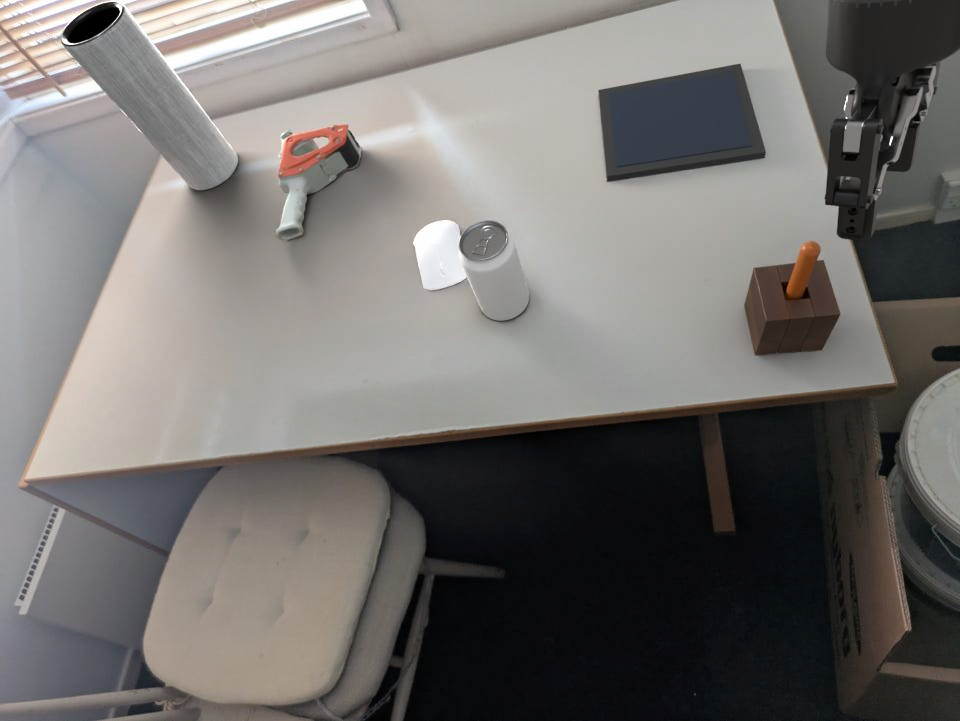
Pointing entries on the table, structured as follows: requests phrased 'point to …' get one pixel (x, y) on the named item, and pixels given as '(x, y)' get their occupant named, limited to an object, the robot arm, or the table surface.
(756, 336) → the pen holder
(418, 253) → the computer mouse
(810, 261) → the stylus
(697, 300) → the table surface
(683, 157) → the tablet
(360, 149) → the tape dispenser
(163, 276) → the table surface
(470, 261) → the can
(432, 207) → the table surface
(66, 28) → the vase
